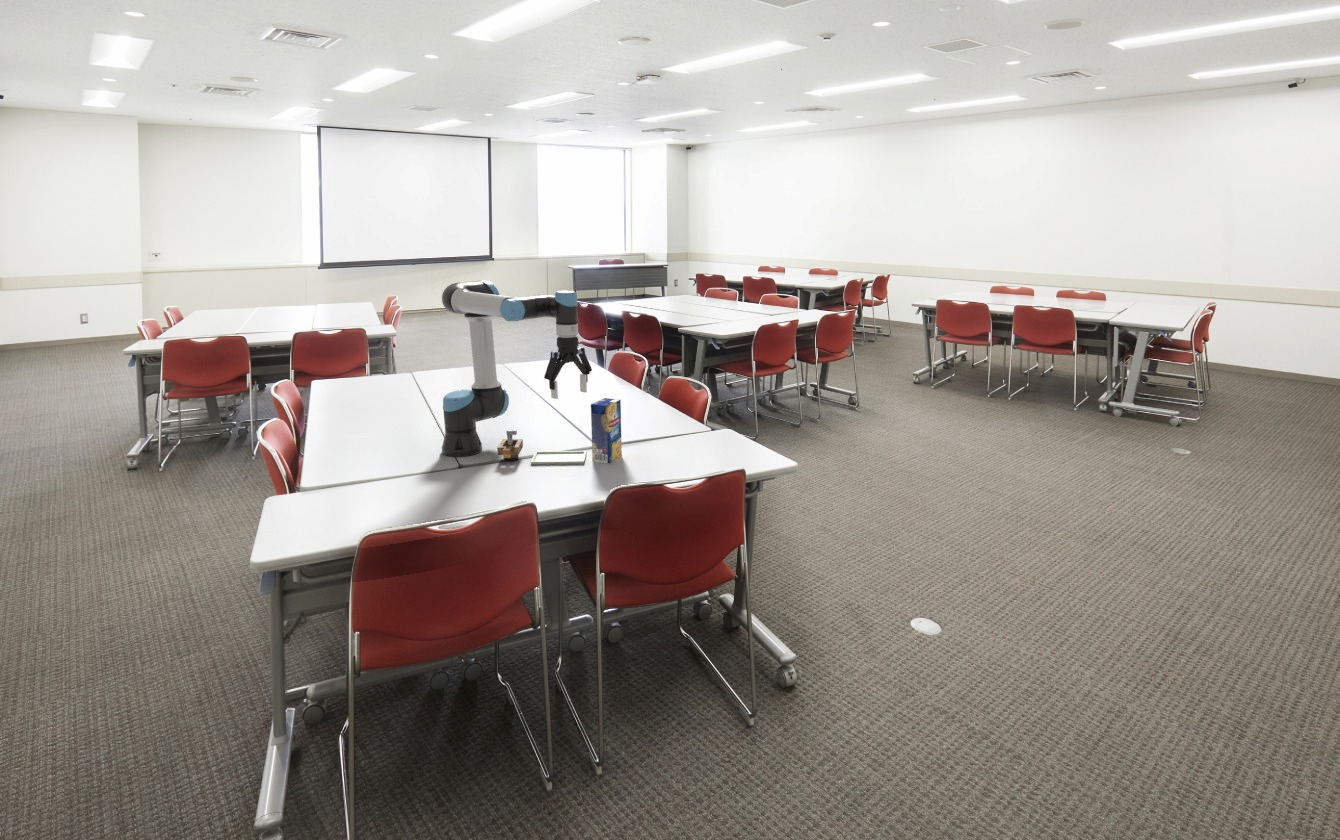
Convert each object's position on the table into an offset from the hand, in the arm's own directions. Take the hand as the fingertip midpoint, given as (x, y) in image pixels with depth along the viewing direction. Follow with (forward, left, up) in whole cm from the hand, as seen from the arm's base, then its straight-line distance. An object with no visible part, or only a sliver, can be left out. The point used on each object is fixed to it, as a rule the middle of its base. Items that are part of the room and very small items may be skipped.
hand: (569, 395), depth 266 cm
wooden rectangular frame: (-23, -9, -23) cm, 34 cm away
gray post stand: (-24, -8, -27) cm, 37 cm away
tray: (-10, +3, -27) cm, 29 cm away
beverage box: (+4, +15, -27) cm, 31 cm away
